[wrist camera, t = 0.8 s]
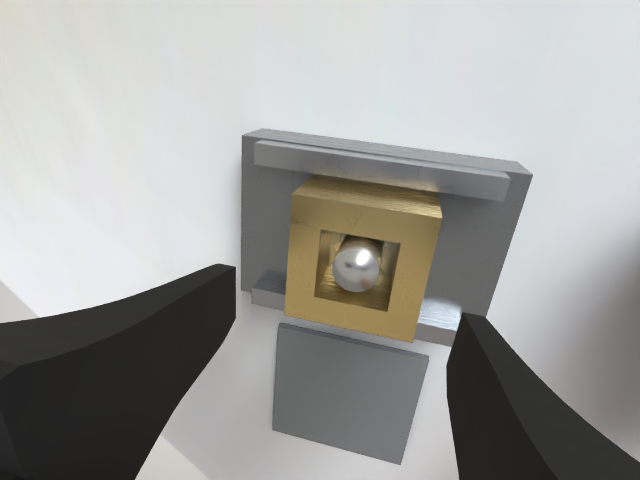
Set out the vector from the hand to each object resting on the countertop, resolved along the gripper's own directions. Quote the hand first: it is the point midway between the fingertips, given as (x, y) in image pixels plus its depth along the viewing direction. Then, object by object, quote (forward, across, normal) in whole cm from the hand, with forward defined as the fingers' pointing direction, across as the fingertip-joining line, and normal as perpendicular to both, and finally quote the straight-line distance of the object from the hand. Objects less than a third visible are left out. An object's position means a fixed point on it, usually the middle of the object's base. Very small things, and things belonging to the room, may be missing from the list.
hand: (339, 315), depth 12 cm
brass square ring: (+6, 0, 0) cm, 6 cm away
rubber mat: (+8, 0, +12) cm, 15 cm away
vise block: (+8, 0, 0) cm, 9 cm away
